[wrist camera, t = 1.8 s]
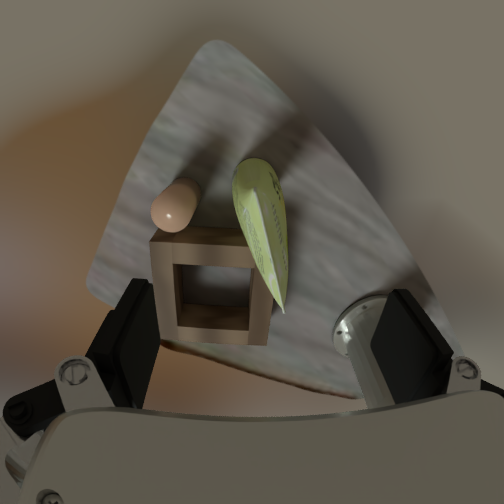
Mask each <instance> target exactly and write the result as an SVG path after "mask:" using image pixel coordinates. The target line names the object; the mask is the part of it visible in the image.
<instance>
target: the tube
mask: <svg viewBox="0 0 504 504" xmlns="http://www.w3.org/2000/svg"><path fill="white" fill-rule="evenodd" d="M232 193H233V201H234V206H235V210H236V214H237V217H238V220H239V223H240V226H241V228H242V231H243V234H244V236H245V238H246V241H247V243H248V246H249V248H250V251H251V253H252V256H253V258H254V260H255V262H256V265H257V267H258V269H259V271H260V273H261V275H262V277H263V279H264V281H265V283H266V285H267V286H268V288H269V290H270V292H271V293H272V295H273V297H274V298H275V300H276V301H277V303H278V304H279V306H280V307H281V308H282V311H283V313H285V308H284V304H285V299H286V292H287V283H288V243H287V223H286V212H285V204H284V198H283V193H282V189H281V186H280V183H279V180H278V178H277V175H276V173H275V171H274V169H273V168H272V166H271V165H270V164H269V163H267V162H266V161H264V160H262V159H258V158H250V159H246V160H244V161H243V162H241V163H240V164H239V165H238V166H237V167H236V169H235V170H234V173H233V177H232Z"/></svg>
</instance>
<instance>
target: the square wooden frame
mask: <svg viewBox="0 0 504 504" xmlns="http://www.w3.org/2000/svg"><path fill="white" fill-rule="evenodd" d="M149 244H150V256H151V267H152V277H153V286H154V295H155V303H156V310H157V318H158V325H159V331H160V338H161V339H168V340H179V341H190V342H202V343H217V344H236V345H263V346H267V339H268V332H269V326H270V319H271V312H272V305H273V298H274V297H273V295H272V293H271V292H270V290H269V288H268V286H267V285H266V283H265V281H264V279H263V277H262V275H261V273H260V271H259V269H258V267H257V265H256V262H255V260H254V258H253V256H252V253H251V251H250V248H249V246H248V243H247V241H246V238H245V236H244V234H243V231H242V229H233V228H215V227H195V226H186V227H185V228H184V229H182V230H181V231H178V232H166V231H163V230H162V229H160V228H158V230H157V231H156V233H155V234H154V235H153V237H152V238H151V240H150V241H149ZM182 264H188V265H204V266H222V267H240V268H251V279H250V290H249V302H248V307H232V306H214V305H199V304H185V303H184V301H183V283H182Z"/></svg>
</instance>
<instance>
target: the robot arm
mask: <svg viewBox="0 0 504 504" xmlns="http://www.w3.org/2000/svg"><path fill="white" fill-rule="evenodd" d="M332 339H333V343H334V346H335V348H336V350H337V351H338V352H339V353H340V354H341V355H343V356H345V357H348V358H350V360H351V363H352V366H353V368H354V371H355V374H356V377H357V379H358V382H359V385H360V388H361V390H362V393H363V396H364V399H365V402H366V405H367V407H368V409H365V410H358V411H350V412H342V413H333V414H321V415H308V416H289V417H228V416H227V417H226V416H209V415H195V414H182V413H172V412H163V411H155V410H145V409H142V407H143V403H144V399H145V395H146V392H147V388H148V385H149V381H150V377H151V374H152V370H153V367H154V363H155V360H156V357H157V353H158V350H159V346H160V332H159V325H158V318H157V312H156V304H155V297H154V289H153V284H152V283H149V282H148V280H147V279H137V278H133V279H132V280H131V282H130V283H129V285H128V287H127V288H126V290H125V292H124V294H123V295H122V297H121V299H120V301H119V302H118V304H117V306H116V308H115V310H110V311H109V313H108V314H107V316H106V318H105V320H104V321H103V323H102V325H101V327H100V329H99V331H98V332H97V334H96V336H95V338H94V340H93V342H92V344H91V345H90V347H89V349H88V351H87V353H86V355H85V357H84V356H71V357H68V358H65V359H63V360H62V361H61V362H60V363H59V364H58V365H57V367H56V369H55V373H54V376H55V379H54V380H51V381H49V382H47V383H44V384H42V385H39V386H37V387H35V388H33V389H30V390H28V391H25V392H23V393H20V394H18V395H15V396H13V397H12V398H10V399H9V400H8V401H7V402H6V404H5V406H4V409H3V416H2V417H1V418H0V504H504V390H503V389H501V388H499V387H496V386H494V385H492V384H490V383H488V382H486V381H484V380H482V379H481V371H480V368H479V366H478V365H477V364H476V363H475V362H474V361H473V360H471V359H470V358H467V357H464V356H459V357H456V358H455V359H454V360H452V359H451V357H452V355H453V353H454V352H453V350H452V349H451V347H450V346H449V344H448V343H447V342H446V340H445V339H444V337H443V336H442V335H441V333H440V332H439V330H438V329H437V328H436V326H435V325H434V323H433V322H432V321H431V319H430V318H429V317H428V315H427V314H426V313H425V311H424V310H423V309H422V307H421V306H420V305H419V304H418V302H417V301H416V300H415V298H414V297H413V296H412V295H411V293H410V292H409V291H408V290H407V289H394V290H393V291H392V292H391V293H389V295H388V296H386V295H377V296H371V297H368V298H365V299H362V300H360V301H358V302H356V303H355V304H353V305H352V306H351V307H349V308H348V309H347V310H346V311H345V312H344V313H343V314H342V315H341V316H340V317H339V319H338V320H337V322H336V324H335V326H334V329H333V334H332Z"/></svg>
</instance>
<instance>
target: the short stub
mask: <svg viewBox="0 0 504 504" xmlns="http://www.w3.org/2000/svg"><path fill="white" fill-rule="evenodd" d="M200 199H201V189H200V187H199V185H198V184H197V182H195V181H194V180H193V179H190V178H187V177H182V178H178V179H176V180H174V181H173V182H172V183H171V184H170V185H169V186H168V187H167V188H166V189H165V190H164V191H163V192H162V193H161V194H160V195H159V196H158V197H157V198H156V199H155V200H154V201H153V203H152V206H151V216H152V219H153V221H154V223H155V224H156V225H157V226H158V227H159V228H160V229H162V230H163V231H166V232H178V231H181V230H182V229H184V228H185V227H186V226H187V225H188V223H189V222H190V220H191V218H192V216H193V214H194V212H195V210H196V208H197V206H198V204H199V202H200Z"/></svg>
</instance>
